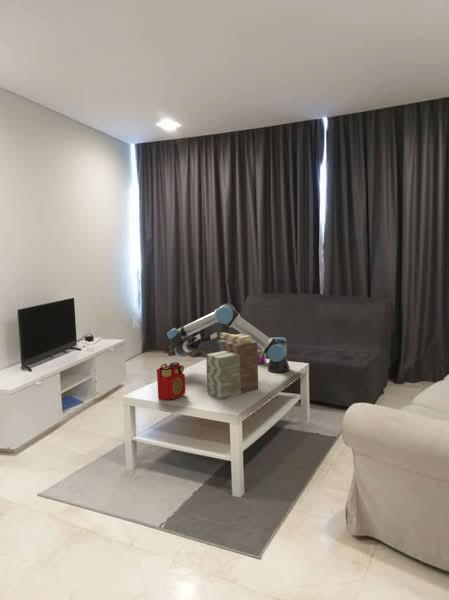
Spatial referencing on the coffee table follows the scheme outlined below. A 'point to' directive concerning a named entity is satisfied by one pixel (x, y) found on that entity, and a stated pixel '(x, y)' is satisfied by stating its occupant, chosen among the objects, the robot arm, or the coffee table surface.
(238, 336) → the light wooden block
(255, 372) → the stand
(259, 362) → the candy bar box
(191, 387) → the coffee table surface
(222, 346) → the coffeepot
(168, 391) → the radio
